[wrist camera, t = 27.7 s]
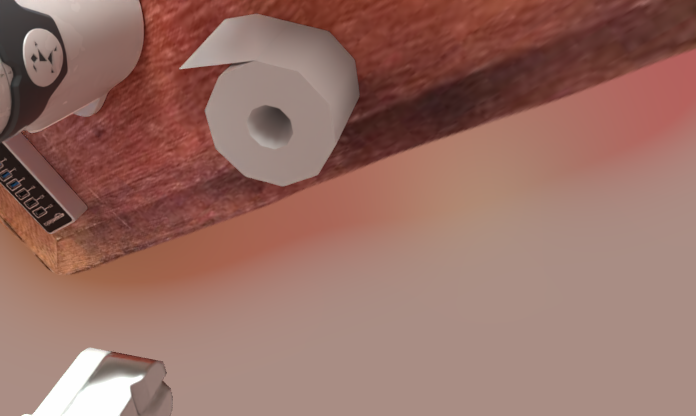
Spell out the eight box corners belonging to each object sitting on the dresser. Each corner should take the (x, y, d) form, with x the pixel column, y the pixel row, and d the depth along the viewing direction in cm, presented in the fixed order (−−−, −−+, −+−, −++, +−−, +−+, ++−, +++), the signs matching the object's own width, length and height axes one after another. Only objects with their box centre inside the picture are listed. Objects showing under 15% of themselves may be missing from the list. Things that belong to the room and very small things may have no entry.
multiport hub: (-18, 89, 55) (-36, 99, 53) (89, 208, 61) (76, 221, 59) (-44, 109, 57) (-62, 119, 55) (62, 223, 63) (49, 235, 61)
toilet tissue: (204, 1, 46) (152, 35, 39) (370, 41, 45) (347, 83, 38) (201, 105, 51) (154, 152, 44) (350, 144, 50) (326, 198, 43)
